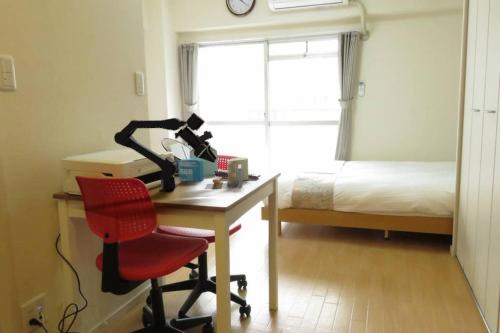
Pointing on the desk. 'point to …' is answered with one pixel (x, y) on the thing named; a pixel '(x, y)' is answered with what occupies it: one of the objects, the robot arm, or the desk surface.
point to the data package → (191, 170)
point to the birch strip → (231, 171)
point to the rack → (230, 185)
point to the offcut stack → (217, 182)
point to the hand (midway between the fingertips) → (215, 160)
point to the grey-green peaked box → (207, 163)
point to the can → (244, 167)
